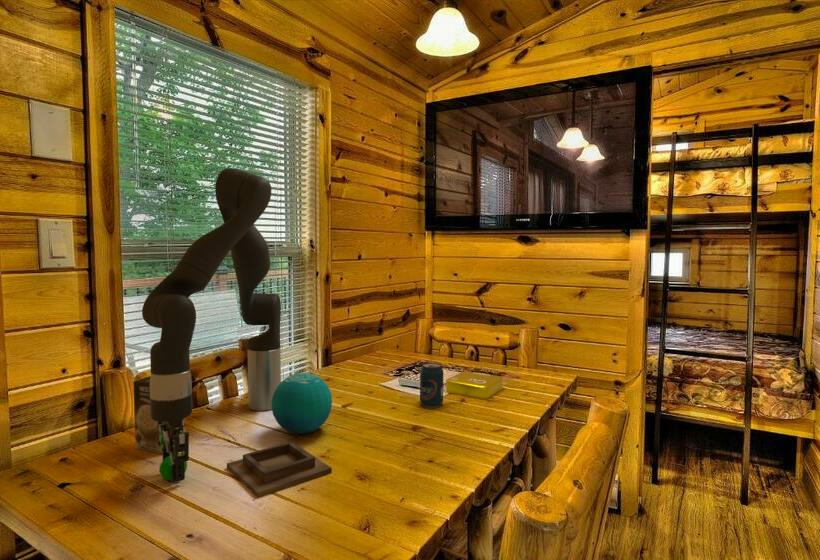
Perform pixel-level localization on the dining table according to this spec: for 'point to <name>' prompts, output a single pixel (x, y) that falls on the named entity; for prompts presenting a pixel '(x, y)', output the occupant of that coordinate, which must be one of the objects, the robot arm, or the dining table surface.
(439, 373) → the soda can
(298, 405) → the decorative orb
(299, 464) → the tray
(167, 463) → the polyhedron
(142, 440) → the coffee box
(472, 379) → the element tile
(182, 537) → the dining table surface
